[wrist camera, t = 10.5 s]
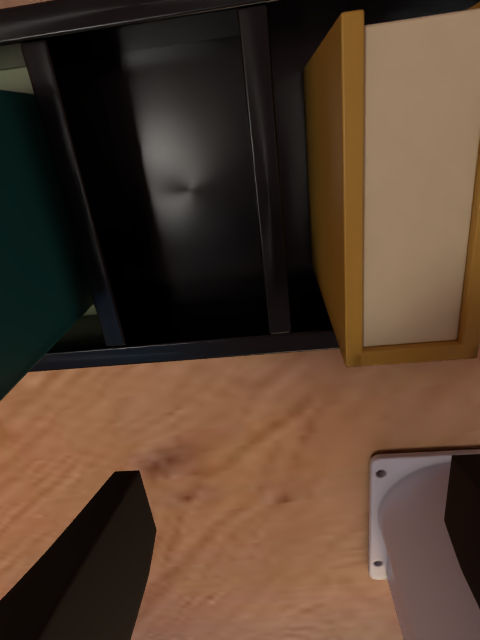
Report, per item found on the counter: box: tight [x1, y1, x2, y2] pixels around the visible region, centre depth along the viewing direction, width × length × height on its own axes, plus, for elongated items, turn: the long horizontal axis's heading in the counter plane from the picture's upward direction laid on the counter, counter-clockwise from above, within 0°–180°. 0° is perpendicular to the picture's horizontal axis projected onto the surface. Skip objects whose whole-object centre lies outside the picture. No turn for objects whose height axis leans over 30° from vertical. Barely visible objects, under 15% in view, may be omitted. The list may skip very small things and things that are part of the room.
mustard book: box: [303, 2, 480, 367], centre depth 12 cm, size 7×3×8 cm, turn 7°
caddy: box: [0, 0, 480, 372], centre depth 15 cm, size 11×19×4 cm, turn 97°
